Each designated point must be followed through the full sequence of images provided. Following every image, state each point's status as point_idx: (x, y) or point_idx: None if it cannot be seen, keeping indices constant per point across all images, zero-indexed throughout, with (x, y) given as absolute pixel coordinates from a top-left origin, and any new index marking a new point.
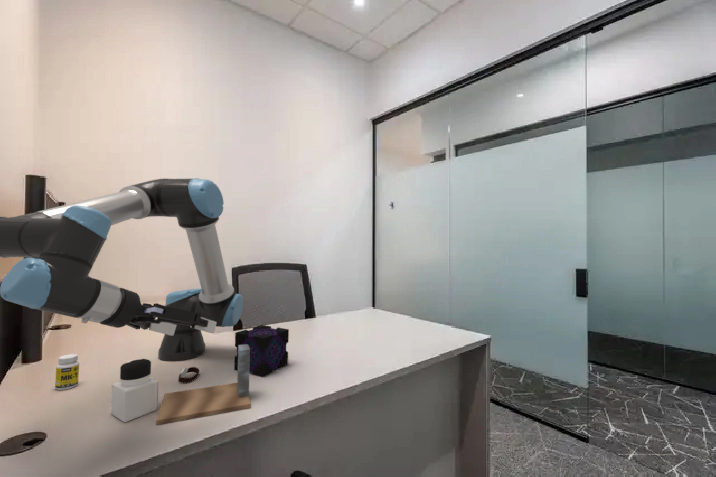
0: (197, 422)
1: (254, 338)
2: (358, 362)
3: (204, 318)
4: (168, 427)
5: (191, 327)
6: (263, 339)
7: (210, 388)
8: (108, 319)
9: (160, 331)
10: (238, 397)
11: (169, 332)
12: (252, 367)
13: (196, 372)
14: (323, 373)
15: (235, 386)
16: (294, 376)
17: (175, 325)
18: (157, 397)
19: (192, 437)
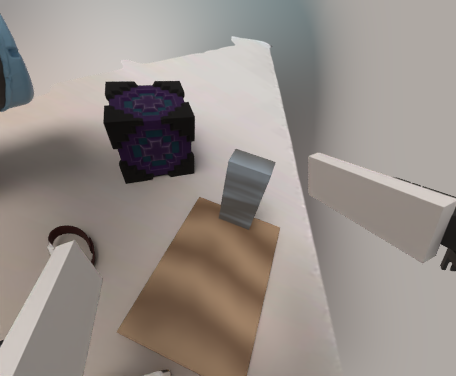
0: (277, 314)
1: (168, 122)
2: (241, 102)
3: (381, 175)
4: (265, 371)
5: (416, 257)
6: (193, 119)
7: (178, 246)
8: None
9: (84, 360)
10: (248, 229)
11: (93, 295)
12: (166, 167)
13: (67, 232)
14: (241, 131)
15: (205, 214)
16: (224, 151)
17: (75, 247)
18: (167, 371)
19: (323, 342)
